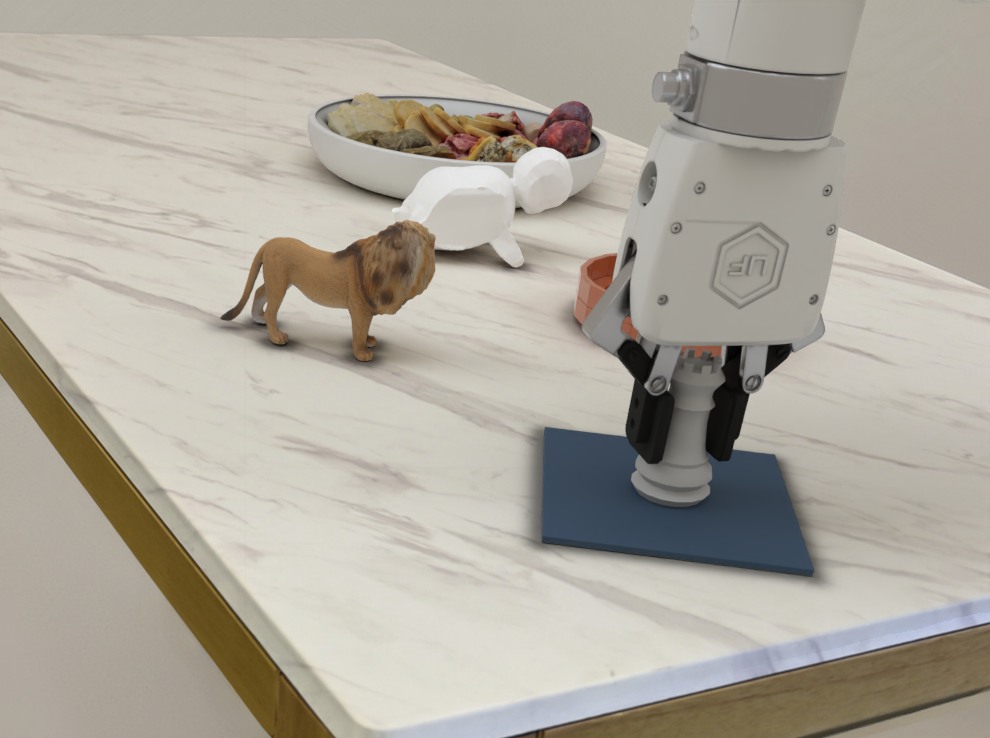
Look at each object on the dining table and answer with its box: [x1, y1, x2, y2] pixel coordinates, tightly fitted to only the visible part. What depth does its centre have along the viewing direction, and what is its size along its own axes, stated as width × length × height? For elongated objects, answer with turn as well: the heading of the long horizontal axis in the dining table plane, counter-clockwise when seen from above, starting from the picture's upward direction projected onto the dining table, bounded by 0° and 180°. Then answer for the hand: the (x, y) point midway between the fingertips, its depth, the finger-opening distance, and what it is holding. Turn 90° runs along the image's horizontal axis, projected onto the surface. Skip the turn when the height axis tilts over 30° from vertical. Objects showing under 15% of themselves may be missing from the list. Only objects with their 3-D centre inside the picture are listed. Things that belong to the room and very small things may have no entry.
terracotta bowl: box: [573, 252, 722, 358], centre depth 95 cm, size 14×14×4 cm
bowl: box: [307, 92, 608, 209], centre depth 128 cm, size 30×30×8 cm
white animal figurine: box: [391, 147, 573, 268], centre depth 106 cm, size 9×8×15 cm
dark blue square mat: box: [541, 426, 815, 577], centre depth 71 cm, size 14×14×1 cm
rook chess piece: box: [631, 348, 725, 507], centre depth 69 cm, size 4×4×8 cm
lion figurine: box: [219, 220, 436, 362], centre depth 85 cm, size 15×5×9 cm, turn 79°
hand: (678, 449), depth 70 cm, fingers closed on rook chess piece, 3 cm apart
